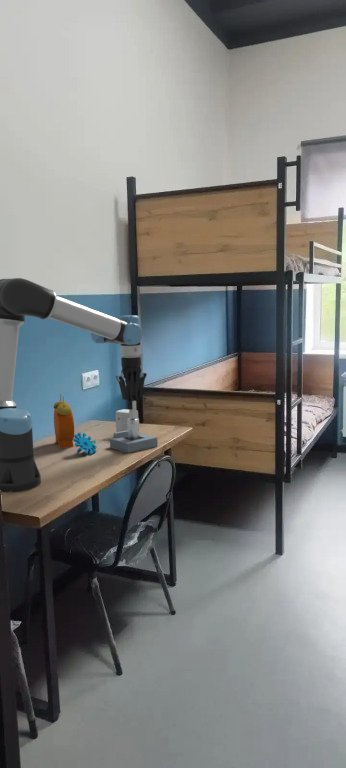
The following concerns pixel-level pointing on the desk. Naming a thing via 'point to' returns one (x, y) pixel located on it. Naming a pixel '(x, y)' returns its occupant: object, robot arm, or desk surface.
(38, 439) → the desk surface
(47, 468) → the desk surface
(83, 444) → the gear
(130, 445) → the frame
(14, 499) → the desk surface
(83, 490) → the desk surface
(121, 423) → the small box
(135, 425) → the bushing
